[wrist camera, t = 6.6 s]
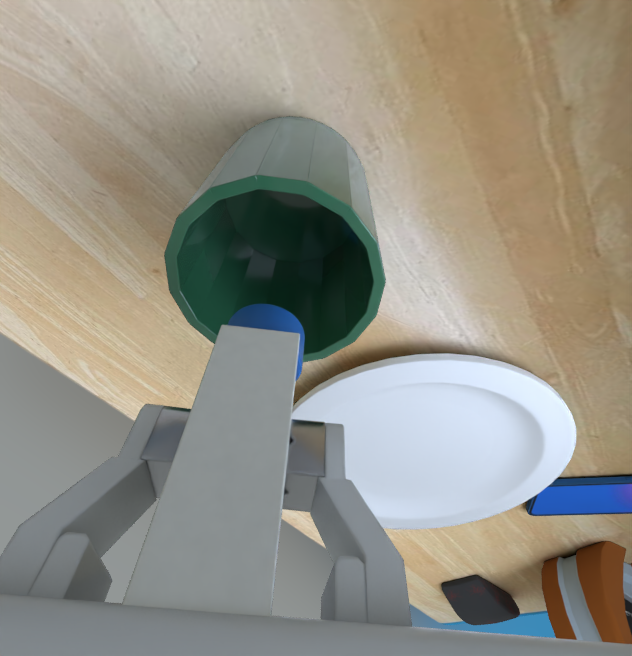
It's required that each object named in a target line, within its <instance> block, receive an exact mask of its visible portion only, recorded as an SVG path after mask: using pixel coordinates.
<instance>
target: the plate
mask: <svg viewBox="0 0 632 656" xmlns="http://www.w3.org/2000/svg"><path fill="white" fill-rule="evenodd" d="M292 419H297V420H308V421H320V422H325V423H336V424H343V426H344V432H345V468H346V479H348V480H352V482H353V483H354V485H355V487H356V488H357V490H358V491H359V493H360V494H361V496H362V497H363V499H364V500H365V502H366V503H367V505H368V506H369V508H370V509H371V511H372V513H373V514H374V516H375V517H376V519H377V520H378V522H379V523H380V525H381V526H382V528H388V529H429V528H440V527H447V526H454V525H459V524H464V523H469V522H473V521H477V520H480V519H484V518H487V517H491V516H494V515H496V514H499V513H502V512H504V511H507V510H509V509H511V508H513V507H515V506H518V505H520V504H522V503H524V502H526V501H527V500H529V499H530V498H532V497H534V496H535V495H537V494H538V493H540V492H541V491H542V490H544V489H545V488H546V487H547V486H549V485H550V484H551V483H552V482H553V481H554V480H555V479H556V478H557V477H558V476H559V475H560V474H561V473H562V472H563V470H564V469H565V467H566V466H567V464H568V462H569V461H570V459H571V457H572V454H573V451H574V448H575V445H576V426H575V423H574V419H573V416H572V413H571V412H570V410H569V408H568V407H567V405H566V404H565V402H564V401H563V399H562V398H561V396H560V395H559V394H558V393H557V392H556V391H555V390H554V389H553V388H552V387H551V386H550V385H549V384H547V383H546V382H545V381H543V380H542V379H540V378H538V377H537V376H535V375H533V374H532V373H530V372H528V371H526V370H524V369H521V368H519V367H516V366H513V365H511V364H508V363H505V362H502V361H497V360H493V359H488V358H484V357H479V356H471V355H461V354H450V353H445V354H416V355H409V356H402V357H394V358H388V359H384V360H380V361H377V362H373V363H369V364H365V365H361V366H359V367H356V368H354V369H351V370H348V371H346V372H343V373H340V374H338V375H336V376H334V377H332V378H331V379H329V380H327V381H325V382H323V383H321V384H319V385H318V386H316V387H315V388H314V389H312V390H311V391H310V392H308V393H307V394H306V395H304V396H303V397H302V398H300V399H299V400H298V401H297V403H296V404H295V405H294V406H293V409H292Z"/></svg>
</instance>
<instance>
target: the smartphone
mask: <svg viewBox="0 0 632 656" xmlns="http://www.w3.org/2000/svg"><path fill="white" fill-rule="evenodd" d="M526 509H527V512H528V514H529V515H532V516H552V515H592V514H631V513H632V476H627V477H600V478H573V479H555V480H554V481H553V482H552V483H551V484H550V485H549V486H547V487H546V488H545V489H544V490H542V491H541V492H540V493H538V494H537V495H535V496H534V497H532V498H530V499H529V500H528V502H527V505H526Z"/></svg>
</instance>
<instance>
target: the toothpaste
mask: <svg viewBox="0 0 632 656" xmlns="http://www.w3.org/2000/svg"><path fill="white" fill-rule="evenodd" d="M304 341H305V334H304V330H303V327H302V325H301V323H300V322H299V320H298V319H297V318H296V317H295V316H294V315H293V314H292V313H290V312H289V311H287V310H285V309H283V308H281V307H278V306H275V305H270V304H254V305H249V306H246V307H244V308H242V309H240V310H238V311H237V312H236V313H235V314H234V315H233V316H232V317H231V319H230V320H229V322H228V325H221V328H220V331H219V334H218V336H217V339H216V342H215V345H214V348H213V350H212V353H211V356H210V359H209V362H208V364H207V367H206V370H205V373H204V376H203V378H202V381H201V384H200V387H199V389H198V392H197V395H196V398H195V401H194V403H193V406H192V409H191V412H190V415H189V417H188V420H187V423H186V426H185V429H184V431H183V434H182V437H181V440H180V443H179V445H178V448H177V451H176V454H175V457H174V459H173V462H172V465H171V468H170V471H169V473H168V476H167V479H166V482H165V485H164V487H163V490H162V493H161V496H160V499H159V501H158V504H157V507H156V510H155V513H154V515H153V518H152V521H151V524H150V527H149V529H148V532H147V535H146V538H145V540H144V543H143V546H142V549H141V552H140V554H139V557H138V560H137V563H136V566H135V569H134V571H133V574H132V577H131V580H130V582H129V585H128V588H127V591H126V594H125V597H124V599H123V602H122V605H131V606H144V607H156V608H169V609H181V610H193V611H206V612H218V613H230V614H243V615H256V616H271V612H272V602H273V593H274V583H275V572H276V562H277V554H278V544H279V535H280V525H281V515H282V506H283V496H284V486H285V477H286V467H287V458H288V448H289V438H290V429H291V419H292V409H293V400H294V390H295V382H296V380H297V379H298V378H299V376H300V374H301V371H302V364H303V352H304Z"/></svg>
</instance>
